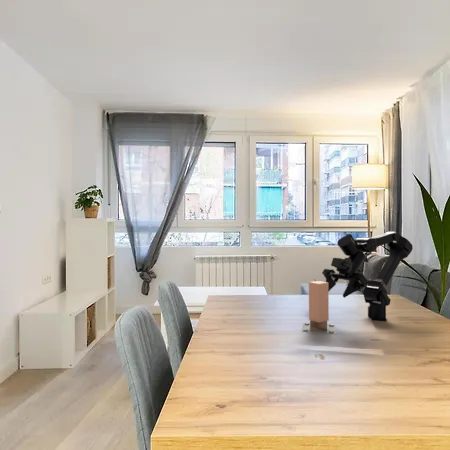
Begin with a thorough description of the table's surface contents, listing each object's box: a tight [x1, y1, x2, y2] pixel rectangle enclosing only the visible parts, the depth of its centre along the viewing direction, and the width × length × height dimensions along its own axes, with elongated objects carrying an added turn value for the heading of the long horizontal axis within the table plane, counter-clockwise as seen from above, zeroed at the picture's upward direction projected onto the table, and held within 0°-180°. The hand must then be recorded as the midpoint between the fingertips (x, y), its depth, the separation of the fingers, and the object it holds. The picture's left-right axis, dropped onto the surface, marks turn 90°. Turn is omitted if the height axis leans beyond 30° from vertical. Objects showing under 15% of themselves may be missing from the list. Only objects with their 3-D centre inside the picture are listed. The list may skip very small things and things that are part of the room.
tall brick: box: [308, 280, 330, 322], centre depth 146 cm, size 5×5×14 cm
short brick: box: [309, 320, 328, 331], centre depth 146 cm, size 6×6×3 cm
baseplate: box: [300, 322, 337, 335], centre depth 146 cm, size 12×12×2 cm
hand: (334, 294), depth 150 cm, fingers open, 9 cm apart
